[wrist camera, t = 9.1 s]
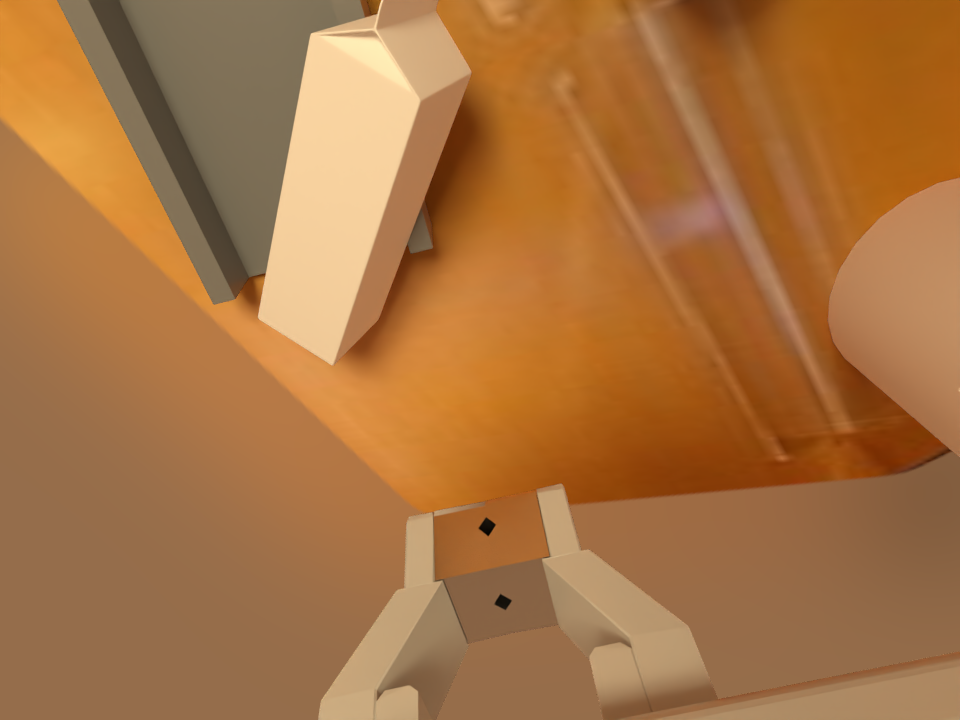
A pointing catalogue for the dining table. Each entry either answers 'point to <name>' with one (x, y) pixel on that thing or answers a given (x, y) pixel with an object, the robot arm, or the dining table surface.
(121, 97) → the trough
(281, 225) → the milk
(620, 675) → the robot arm
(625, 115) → the dining table surface
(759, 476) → the dining table surface
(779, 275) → the dining table surface
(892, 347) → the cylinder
